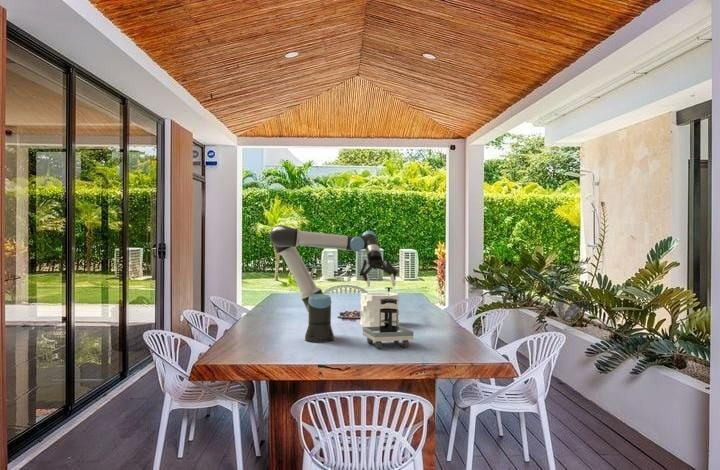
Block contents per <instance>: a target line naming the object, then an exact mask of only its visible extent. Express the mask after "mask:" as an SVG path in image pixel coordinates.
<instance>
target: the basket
mask: <svg viewBox="0 0 720 470" xmlns="http://www.w3.org/2000/svg"><path fill="white" fill-rule="evenodd" d="M386 298H388V291H387V292H384V291H382V292H375V291H374V292H371V291H370V292H362V293H360V310H359V312H360V313H359V314H360V321H359V323H360V325H361V326H362V325H363V327H367V326H368V327H377V326H380V309H383V308H388V303H385V304H381V301H380V299H386ZM389 298H391V299H397V300H398V301H397V304H394V303H389V308H392V309H398V316H399V315H400V309H399V306H400V305H399V304H400V302H399V301H400V299H399V293H395V292H389ZM384 319H385V313H381V320H384ZM392 320H397V313H392ZM381 326H384V323H383V322H381ZM392 326H396V322H395V323H392ZM398 326H400V319H398Z"/></svg>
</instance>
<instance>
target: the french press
mask: <svg viewBox="0 0 720 470" xmlns="http://www.w3.org/2000/svg"><path fill="white" fill-rule="evenodd" d="M385 289H386V290H387V293H388V298H386V299H380V301H381V304H385V303H388V308H383V309H380V331H379V333H383V332H397V326H399V325H398V320H399V315H398V309H399V308H398V309H392V308H389V303H394V304H397V301H398V300H397V299H391V298H389V293H390V291H391V289H394V287H393V286H392V287H390V286H387V287H385ZM381 313H385V319H384V320H381ZM392 313H397V320H392ZM381 322H383V323H384V326H381ZM395 322H396V326H392V323H395Z"/></svg>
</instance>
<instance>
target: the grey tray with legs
mask: <svg viewBox="0 0 720 470" xmlns="http://www.w3.org/2000/svg"><path fill="white" fill-rule="evenodd" d="M379 331H380V326H377V327H367V326H363V327H362V335H363V336H364V337H366V341H367V342H366V343H367V344H368V345H369V344H374V346H375V349H377V350H378V349H382V342H391V341H392V342H393V343H399V342H400V341H401V342H402V343H401V346H402V347H403V348H409V345H410V342H409V341H413V340H414V331H413V330H410V329H408V328H406V327H403V326H402V325H398V326H397V332H383V333H379Z"/></svg>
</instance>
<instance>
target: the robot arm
mask: <svg viewBox="0 0 720 470" xmlns="http://www.w3.org/2000/svg"><path fill="white" fill-rule="evenodd" d="M269 241H270V243H271V244H272V246H273V247H274V249H275V252H276V254H277V255H280V256H282V258H283V260H284V262H285V264H286V266H287V268H288V269H289V271H290V274H291V275H292V277H293V279H294V281H295V283H296V285H297V286H298V289H299V290H300V292H301V295H302V296H301V300H302V302H303V304H304V306H305V308H306V309H305V310H306V311H307V312H308V326H307V328H306V332H305V335H304V340H305V342H309V343H328V342H329V343H330V342H333V341H335V334H334V331H333V328H332V324H331V323H332V298H331V296H330V295H328V294H325V293H324V292H323V291H322V288H321V287H318V286H317V285H316V284H315V281H314V279H313V278H312V275H311V274H310V272H309V270H308V268H307V266H306V264H305V263H304V260H303V259H302V256H301V255H300V252H299V251H298V249H297V247H298V246H302V247H312V248H323V249H333V250H343V251H344V252H350V251H351V252H352V251H353V252H360V251H362V250H365V253H366V257H367V260H366V259H364V260H363V263H362V266H361V270H360V272H359V277H362V278H363V280H364V281H365V282H366V285H367V288H369V287H370V286H371V281H370V277H369V272H371V270H372V269H373V270H379V269H380V270H382V271H383V272H385V273H387V274H388V275H390V280H391V285H392V288H394V287H395V286H396V279H397V275H398V271H397V269H396V268H395V267H394V266H393V265H392V264H391V262H390V261H389V260H388V259H386V260H383V258H382V252H381V250H380V247H379V243H378V238H377V235H376V233H375V232H374V231H373V230H366V231H364V232H363V233H362V235H358V236H357V235H356V236H352V235H343V234H334V233H333V234H332V233H323V232H314V231H306V230H305V231H304V230H300V229H299V228H295V227H289V226H287V225H285V224H284V225H283V224H281V225H280V224H279V225H276V226H274V227H273V228H271V230H270V232H269ZM367 265H368V267H367V269H366V270H365V268H366V266H367Z"/></svg>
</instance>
